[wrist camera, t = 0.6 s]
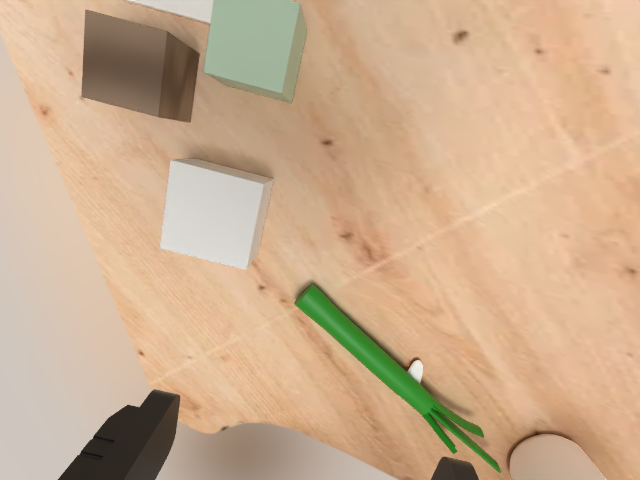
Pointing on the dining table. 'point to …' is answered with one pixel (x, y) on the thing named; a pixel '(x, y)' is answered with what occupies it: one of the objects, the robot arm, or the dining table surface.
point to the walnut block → (138, 67)
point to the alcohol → (551, 460)
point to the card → (181, 8)
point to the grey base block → (214, 212)
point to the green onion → (389, 370)
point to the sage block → (256, 46)
